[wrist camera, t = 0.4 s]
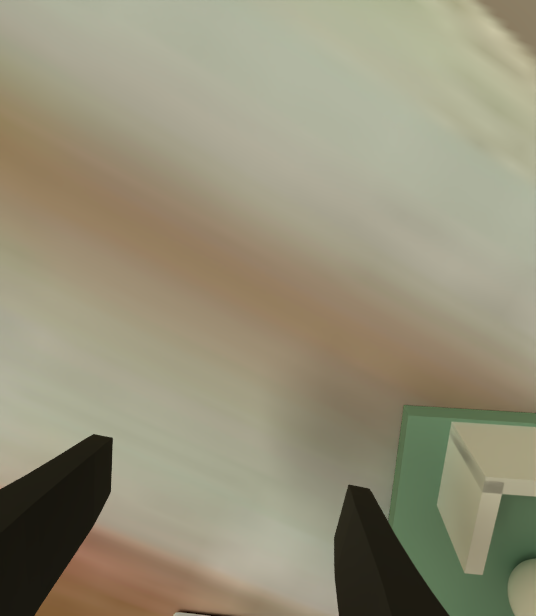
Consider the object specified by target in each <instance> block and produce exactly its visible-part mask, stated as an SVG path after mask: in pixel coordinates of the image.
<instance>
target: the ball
mask: <svg viewBox="0 0 536 616" xmlns="http://www.w3.org/2000/svg"><path fill="white" fill-rule="evenodd" d="M508 598H509V603H510V606H511V608H512V611H513V613H514V615H515V616H536V558H535V559H529V560H525V561H523V562H521V563H520V564H518V565H517V566H516V567H515V568H514V569H513V571H512V572H511V574H510V577H509V580H508Z"/></svg>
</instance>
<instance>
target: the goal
mask: <svg viewBox="0 0 536 616" xmlns="http://www.w3.org/2000/svg"><path fill="white" fill-rule="evenodd" d="M502 494H509V495H522V496H534V497H536V427H527V426H512V425H496V424H480V423H465V422H451V428H450V434H449V439H448V445H447V450H446V456H445V462H444V467H443V473H442V478H441V484H440V490H439V495H438V501H437V507H438V510H439V512H440V514H441V517H442V519H443V522H444V524H445V527H446V529H447V532H448V534H449V537H450V539H451V541H452V544H453V546H454V549H455V551H456V554H457V556H458V559H459V561H460V564H461V566H462V568H463V571H464V573H467V574H477V575H483V571H484V567H485V563H486V559H487V555H488V550H489V546H490V542H491V538H492V534H493V530H494V525H495V521H496V517H497V513H498V509H499V505H500V500H501V496H502Z"/></svg>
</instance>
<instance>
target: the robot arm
mask: <svg viewBox="0 0 536 616" xmlns="http://www.w3.org/2000/svg"><path fill="white" fill-rule="evenodd" d="M112 444H113V438H110V437H105V436H100V435H95V434H93V435H91V436H90V437H88V438H86V439H84V440H83V441H81V442H80V443H78V444H76V445H75V446H73V447H72V448H70V449H68V450H67V451H65V452H64V453H62V454H60V455H59V456H57V457H55V458H54V459H52V460H50V461H49V462H47V463H45V464H44V465H42V466H40V467H39V468H37V469H35V470H34V471H32V472H30V473H29V474H27V475H25V476H24V477H22V478H20V479H18V480H16V481H14V482H13V483H11V484H9V485H7V486H5V487H4V488H2V489H0V616H34V615H35V614H36V612H37V610H38V609H39V607H40V606H41V604H42V603H43V601H44V600H45V598H46V597H47V595H48V594H49V592H50V591H51V589H52V588H53V586H54V585H55V583H56V582H57V580H58V579H59V577H60V576H61V574H62V573H63V571H64V570H65V568H66V567H67V565H68V564H69V562H70V561H71V559H72V558H73V556H74V555H75V553H76V552H77V550H78V549H79V547H80V546H81V544H82V542H83V541H84V539H85V538H86V536H87V535H88V533H89V532H90V530H91V529H92V527H93V526H94V524H95V522H96V520H97V518H98V516H99V514H100V512H101V511H102V509H103V507H104V505H105V503H106V501H107V499H108V496H109V494H110V492H111V472H112ZM334 567H335V584H336V593H337V602H338V611H339V616H450V615H449V614H448V613H447V611H446V610H445V609H444V607H443V606H442V605H441V603H440V602H439V600H438V599H437V598H436V596H435V595H434V593H433V592H432V591H431V589H430V588H429V586H428V585H427V583H426V582H425V580H424V579H423V577H422V576H421V574H420V573H419V571H418V570H417V568H416V567H415V565H414V564H413V562H412V561H411V559H410V557H409V556H408V554H407V553H406V551H405V549H404V548H403V546H402V544H401V543H400V541H399V540H398V538H397V536H396V535H395V533H394V531H393V529H392V528H391V526H390V524H389V522H388V521H387V519H386V517H385V515H384V514H383V512H382V510H381V508H380V506H379V505H378V503H377V501H376V499H375V497H374V495H373V494H372V492H371V491H370V489H368V488H363V487H358V486H353V485H348V489H347V492H346V496H345V500H344V503H343V507H342V511H341V515H340V518H339V522H338V526H337V529H336V533H335V537H334ZM173 616H209V615H200V614H191V613H183V612H177V613H175V614H174V615H173Z"/></svg>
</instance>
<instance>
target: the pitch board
mask: <svg viewBox="0 0 536 616" xmlns="http://www.w3.org/2000/svg"><path fill="white" fill-rule="evenodd" d="M451 422H465V423H480V424H496V425H512V426H527V427H536V413H523V412H507V411H491V410H474V409H458V408H441V407H425V406H409V405H404V408H403V415H402V423H401V430H400V438H399V445H398V453H397V460H396V468H395V475H394V483H393V490H392V498H391V505H390V513H389V520H388V522H389V524H390V526H391V528H392V529H393V531H394V533H395V535H396V536H397V538H398V540H399V541H400V543H401V544H402V546H403V548H404V549H405V551H406V553H407V554H408V556H409V557H410V559H411V561H412V562H413V564H414V565H415V567H416V568H417V570H418V571H419V573H420V574H421V576H422V577H423V579H424V580H425V582H426V583H427V585H428V586H429V588H430V589H431V591H432V592H433V593H434V595H435V596H436V598H437V599H438V600H439V602H440V603H441V605H442V606H443V607H444V609H445V610H446V611H447V613H448V614H449V615H450V616H515V615H514V613H513V611H512V608H511V606H510V603H509V598H508V580H509V577H510V574H511V572H512V571H513V569H514V568H515V567H516V566H517V565H518V564H520V563H521V562H523V561H525V560H529V559H535V558H536V497H534V496H522V495H509V494H502V496H501V500H500V505H499V509H498V513H497V517H496V521H495V525H494V530H493V534H492V538H491V542H490V546H489V550H488V555H487V559H486V563H485V567H484V571H483V575H477V574H467V573H464V571H463V568H462V566H461V564H460V561H459V559H458V556H457V554H456V551H455V549H454V546H453V544H452V541H451V539H450V537H449V534H448V532H447V529H446V527H445V524H444V522H443V519H442V517H441V514H440V512H439V510H438V507H437V501H438V495H439V490H440V484H441V478H442V473H443V467H444V462H445V456H446V450H447V445H448V439H449V434H450V428H451Z"/></svg>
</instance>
